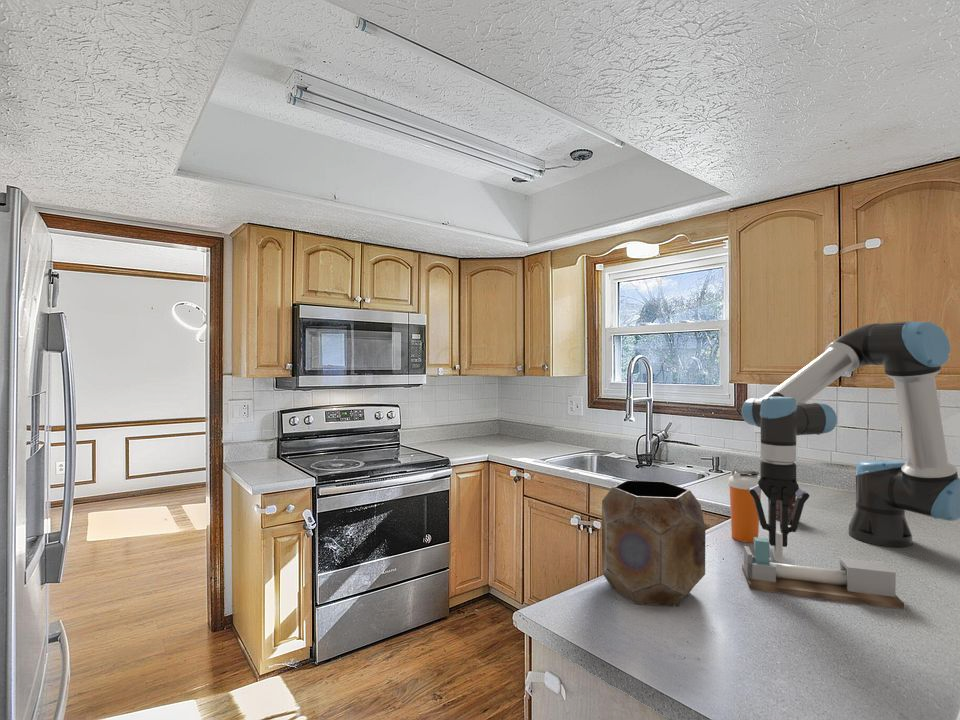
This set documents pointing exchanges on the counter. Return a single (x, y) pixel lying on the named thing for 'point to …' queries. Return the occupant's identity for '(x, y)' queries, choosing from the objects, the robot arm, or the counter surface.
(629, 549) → the planter
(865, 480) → the robot arm
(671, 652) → the counter surface
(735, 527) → the shaker bottle
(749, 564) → the socket
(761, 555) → the bolt
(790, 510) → the box
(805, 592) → the board
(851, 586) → the sleeve
